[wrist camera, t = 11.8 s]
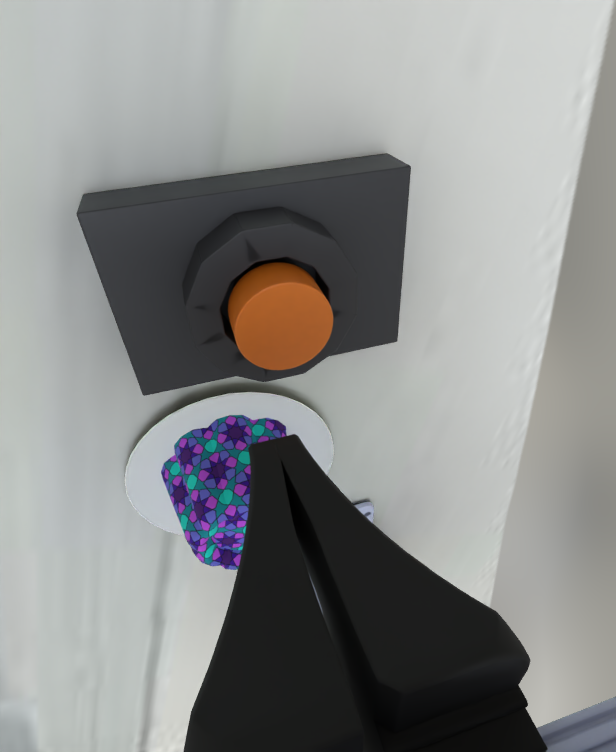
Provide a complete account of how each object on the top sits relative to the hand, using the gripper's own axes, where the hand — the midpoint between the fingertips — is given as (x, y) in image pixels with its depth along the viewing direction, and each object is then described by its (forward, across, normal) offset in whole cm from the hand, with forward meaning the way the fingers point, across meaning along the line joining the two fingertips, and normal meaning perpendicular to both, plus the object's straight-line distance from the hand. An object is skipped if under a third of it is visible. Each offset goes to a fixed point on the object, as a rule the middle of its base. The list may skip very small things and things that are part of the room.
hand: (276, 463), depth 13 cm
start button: (+7, -2, -1) cm, 7 cm away
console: (+10, -2, -1) cm, 10 cm away
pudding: (+10, +1, +11) cm, 15 cm away
